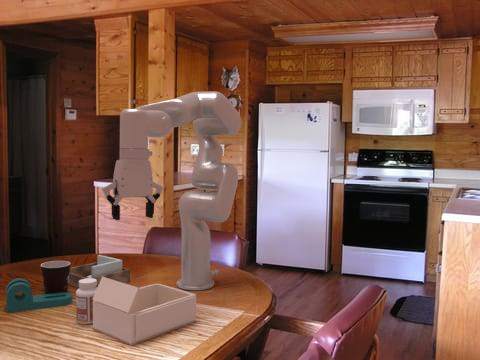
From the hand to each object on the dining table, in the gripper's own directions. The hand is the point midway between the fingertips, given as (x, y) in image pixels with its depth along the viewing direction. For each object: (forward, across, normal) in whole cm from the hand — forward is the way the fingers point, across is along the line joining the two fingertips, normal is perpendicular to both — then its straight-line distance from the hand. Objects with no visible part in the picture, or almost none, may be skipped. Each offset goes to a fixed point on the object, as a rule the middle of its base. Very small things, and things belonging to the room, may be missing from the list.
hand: (133, 218), depth 143 cm
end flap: (+20, +11, +10) cm, 25 cm away
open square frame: (+27, -4, -39) cm, 48 cm away
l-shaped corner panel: (+27, -5, -38) cm, 47 cm away
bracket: (+28, +18, -24) cm, 41 cm away
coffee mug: (+28, +10, -31) cm, 43 cm away
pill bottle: (+28, +11, -4) cm, 30 cm away
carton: (+28, 0, +8) cm, 29 cm away
